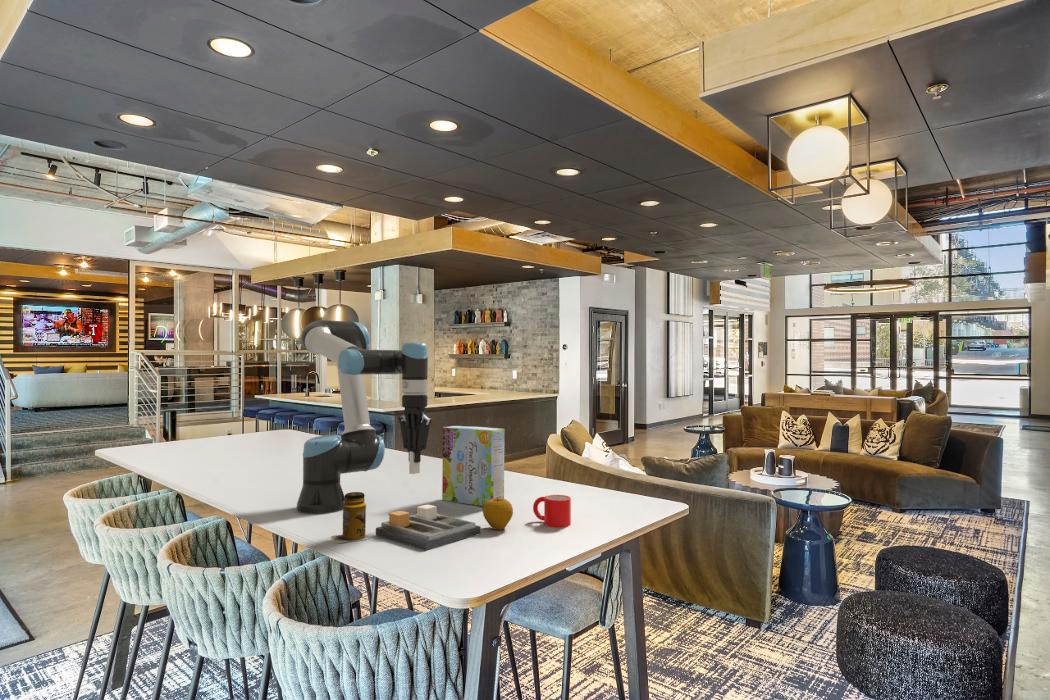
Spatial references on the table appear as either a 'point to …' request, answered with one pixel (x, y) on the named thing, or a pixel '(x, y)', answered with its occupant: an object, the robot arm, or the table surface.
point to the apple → (497, 513)
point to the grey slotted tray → (429, 531)
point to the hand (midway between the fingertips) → (414, 473)
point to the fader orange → (399, 518)
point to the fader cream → (427, 512)
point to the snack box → (473, 464)
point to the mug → (554, 510)
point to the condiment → (353, 518)
